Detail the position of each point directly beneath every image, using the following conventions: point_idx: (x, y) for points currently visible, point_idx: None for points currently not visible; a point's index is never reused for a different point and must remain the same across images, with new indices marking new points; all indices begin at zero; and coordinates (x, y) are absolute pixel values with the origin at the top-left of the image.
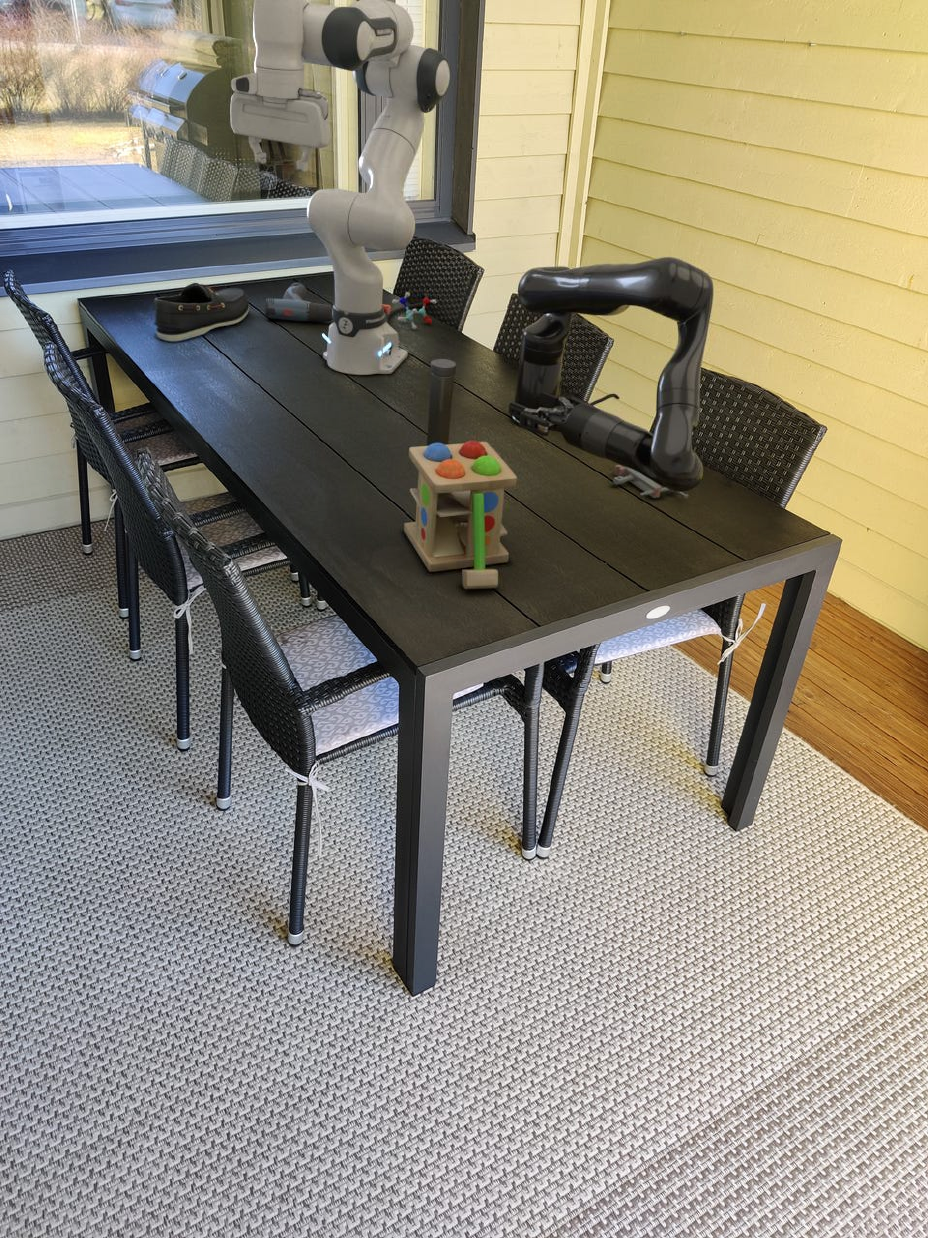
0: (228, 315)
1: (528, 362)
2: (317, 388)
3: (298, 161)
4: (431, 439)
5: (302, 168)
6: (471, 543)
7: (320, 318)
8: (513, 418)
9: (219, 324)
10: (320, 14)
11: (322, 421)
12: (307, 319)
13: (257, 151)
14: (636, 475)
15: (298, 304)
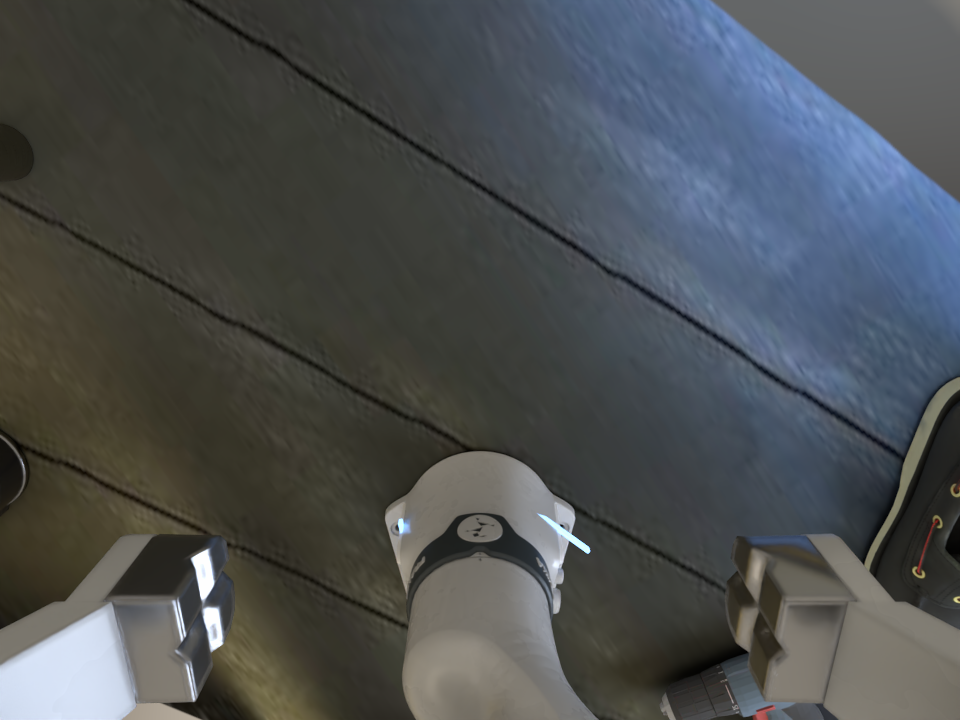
0: (888, 557)
1: None
2: (475, 337)
3: (142, 595)
4: None
5: (115, 543)
6: None
7: (689, 678)
8: (5, 437)
9: (890, 519)
10: None
11: (344, 162)
12: (718, 664)
13: (861, 631)
14: None
15: (754, 686)
